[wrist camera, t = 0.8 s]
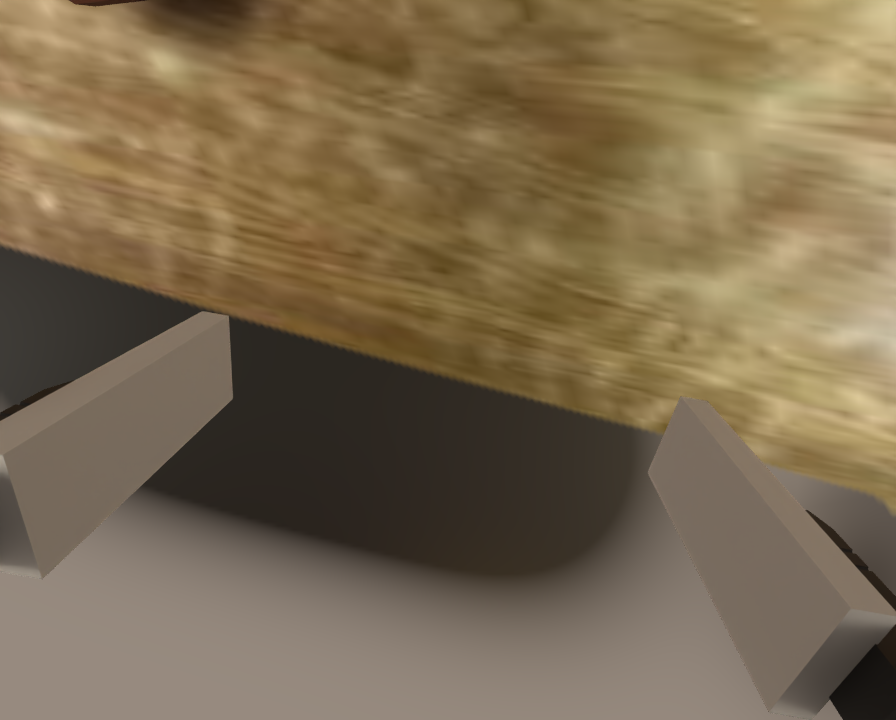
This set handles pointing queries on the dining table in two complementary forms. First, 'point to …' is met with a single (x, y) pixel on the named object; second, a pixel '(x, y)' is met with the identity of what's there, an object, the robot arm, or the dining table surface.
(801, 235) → the dining table surface
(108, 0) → the ice cream bowl
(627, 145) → the dining table surface
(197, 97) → the dining table surface
